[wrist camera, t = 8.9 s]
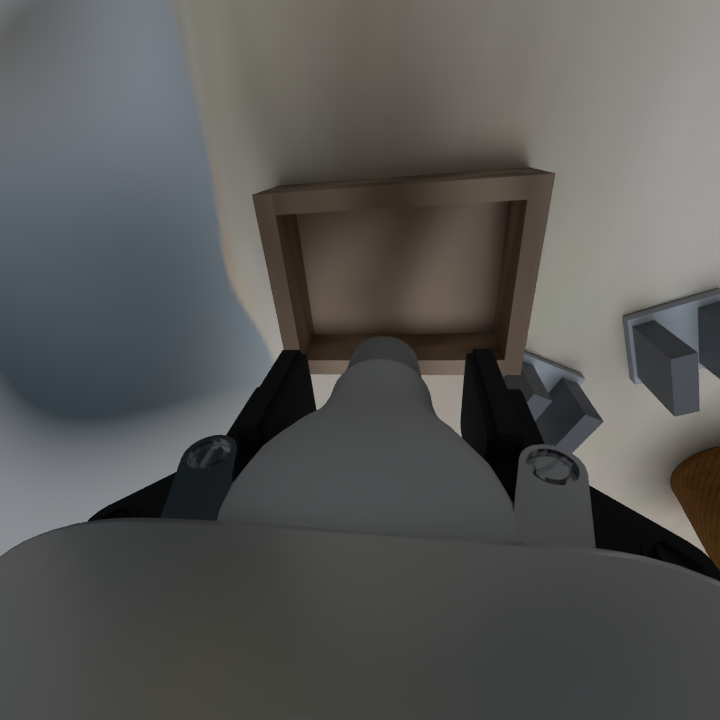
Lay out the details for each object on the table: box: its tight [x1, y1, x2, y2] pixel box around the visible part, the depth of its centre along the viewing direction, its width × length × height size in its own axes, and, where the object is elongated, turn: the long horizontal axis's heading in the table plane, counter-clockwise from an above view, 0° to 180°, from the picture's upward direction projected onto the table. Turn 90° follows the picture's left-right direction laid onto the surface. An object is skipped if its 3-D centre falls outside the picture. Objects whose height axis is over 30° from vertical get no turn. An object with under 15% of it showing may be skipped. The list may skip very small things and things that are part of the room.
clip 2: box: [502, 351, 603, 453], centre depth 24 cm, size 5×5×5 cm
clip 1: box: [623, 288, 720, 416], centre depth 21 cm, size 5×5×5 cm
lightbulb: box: [217, 336, 518, 541], centre depth 10 cm, size 6×6×11 cm
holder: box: [252, 168, 555, 375], centre depth 21 cm, size 14×10×4 cm
